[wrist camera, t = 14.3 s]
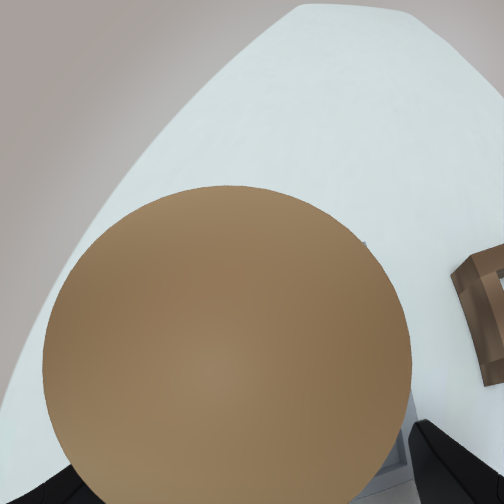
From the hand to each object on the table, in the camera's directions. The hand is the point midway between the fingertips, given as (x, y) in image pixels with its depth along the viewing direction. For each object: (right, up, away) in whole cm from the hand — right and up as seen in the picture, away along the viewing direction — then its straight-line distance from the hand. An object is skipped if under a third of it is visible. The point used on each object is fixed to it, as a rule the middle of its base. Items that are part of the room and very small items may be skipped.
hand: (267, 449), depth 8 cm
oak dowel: (+1, -2, +7) cm, 8 cm away
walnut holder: (+17, +2, +8) cm, 19 cm away
